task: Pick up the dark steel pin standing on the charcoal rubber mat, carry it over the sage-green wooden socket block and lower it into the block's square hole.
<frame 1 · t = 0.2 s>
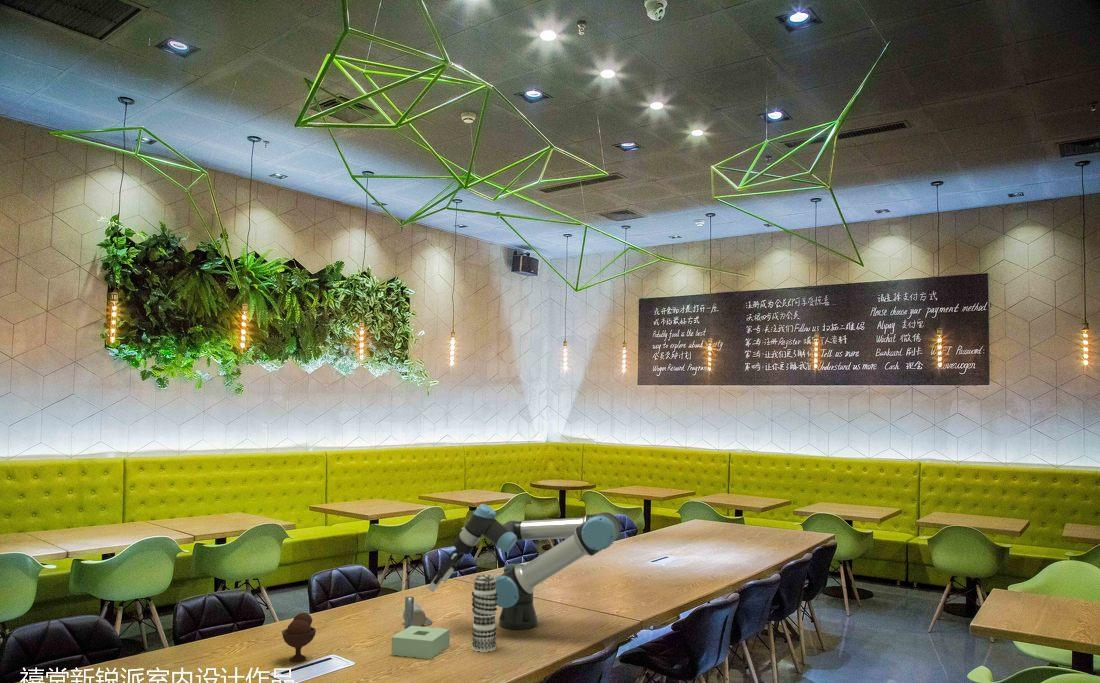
hand: (436, 585, 299), 16 cm above the table, tool tilted 35°, fingers open, 13 cm apart
decorative candle: (483, 649, 272), on the table
socket block: (420, 650, 269), on the table
ceramic mug: (417, 626, 301), on the table
mat: (408, 637, 284), on the table
ice cream bowl: (297, 660, 258), on the table
pin: (408, 636, 284), resting on mat
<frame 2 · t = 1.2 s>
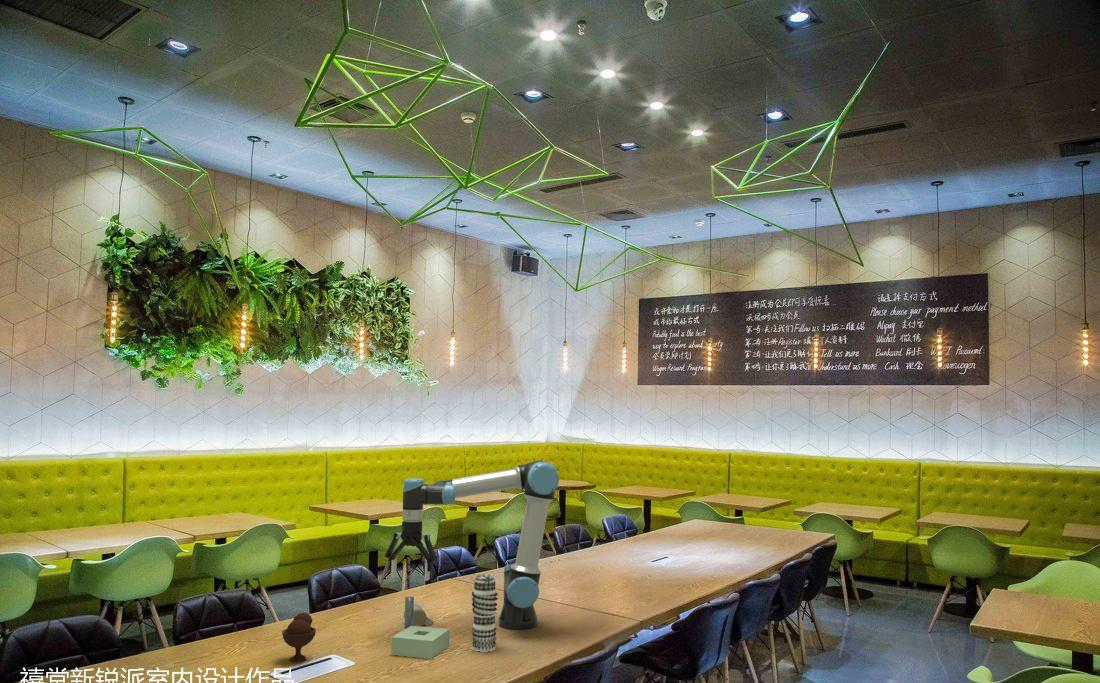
hand: (410, 578, 287), 21 cm above the table, tool pointing down, fingers open, 13 cm apart
nothing on the table moved.
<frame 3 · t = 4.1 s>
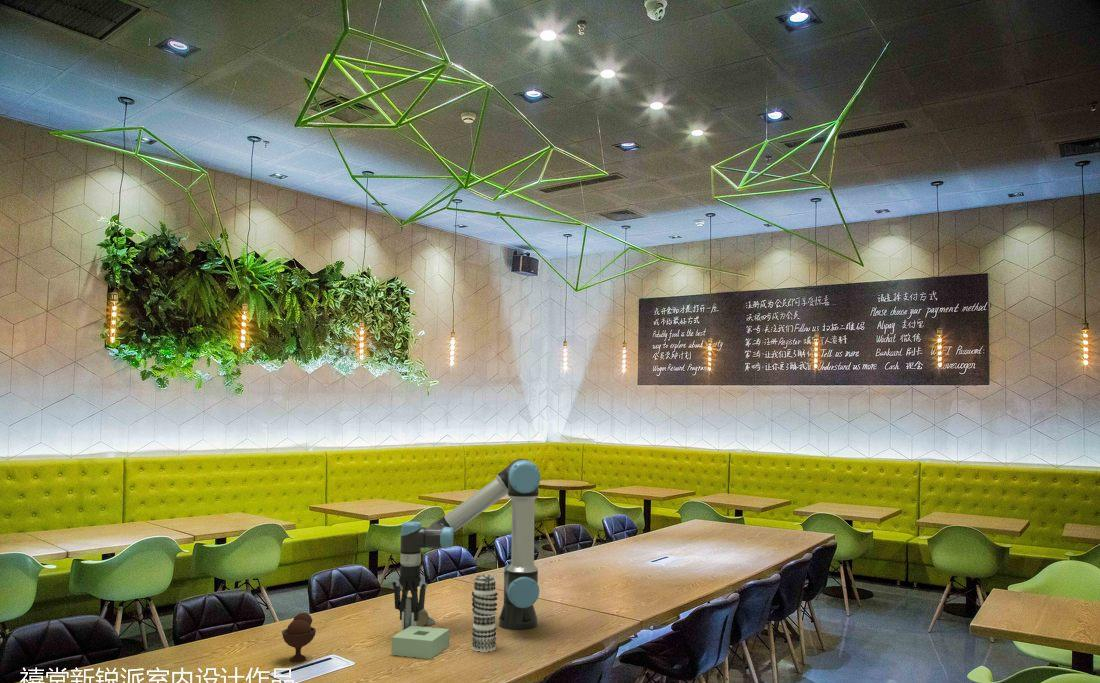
hand: (408, 629, 285), 3 cm above the table, tool pointing down, fingers closed on pin, 3 cm apart
pin: (408, 636, 285), resting on mat, touching gripper
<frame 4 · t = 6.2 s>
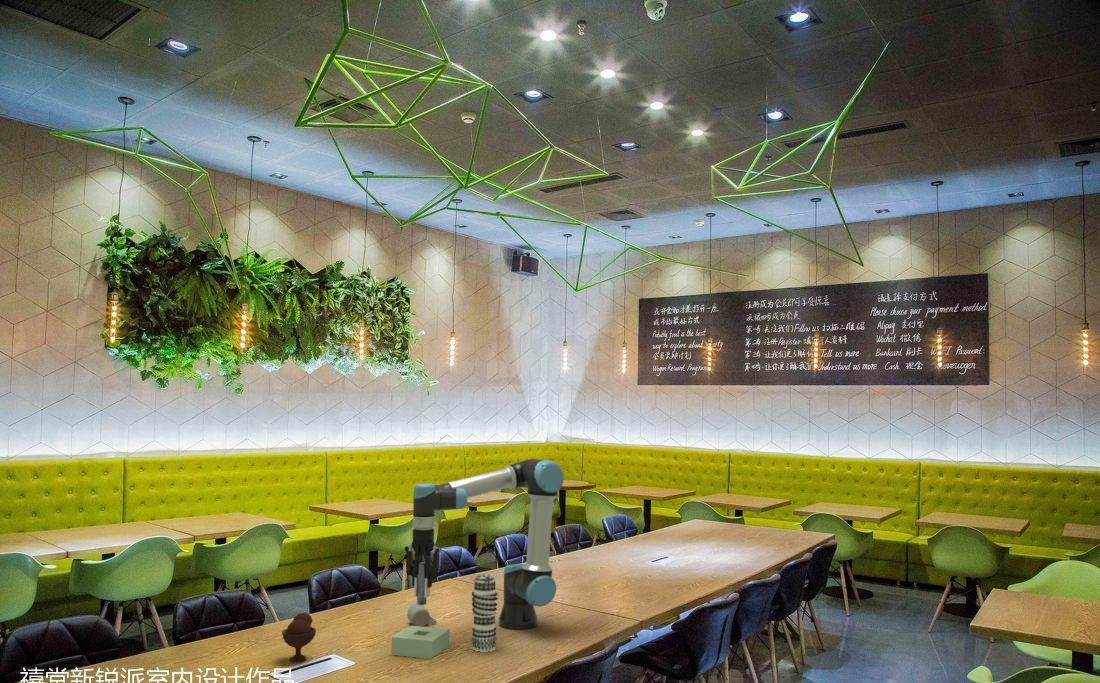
hand: (421, 596, 271), 19 cm above the table, tool pointing down, fingers closed on pin, 3 cm apart
pin: (421, 603, 271), point 16 cm above the table, touching gripper
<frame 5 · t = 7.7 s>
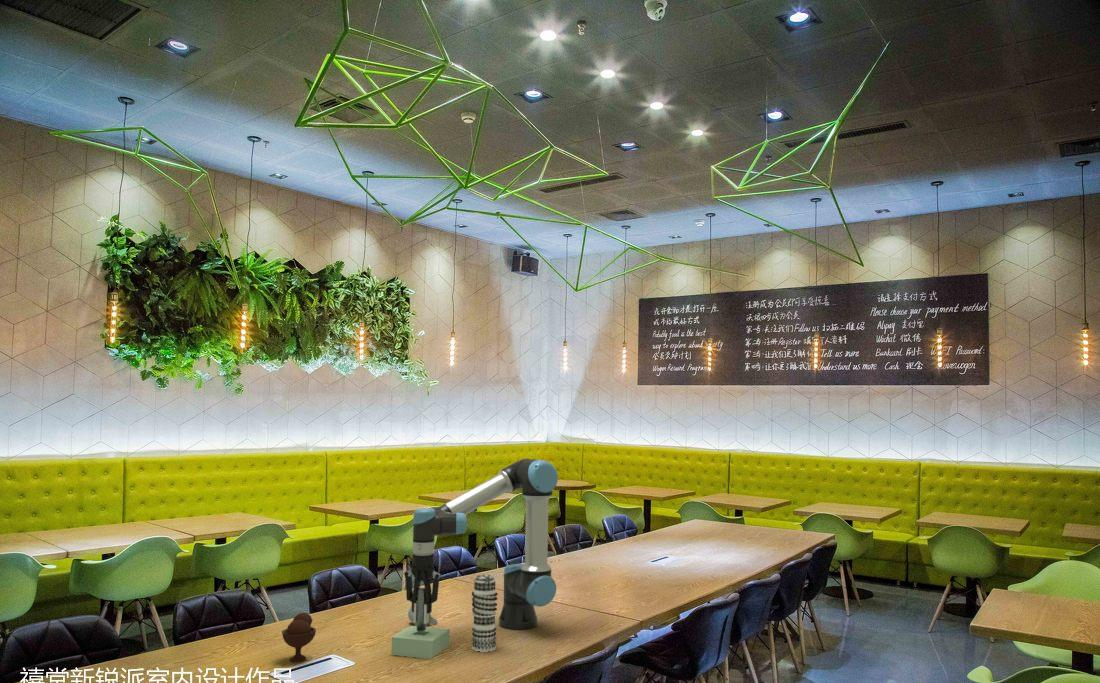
hand: (421, 622, 270), 10 cm above the table, tool pointing down, fingers closed on pin, 3 cm apart
pin: (421, 629, 270), point 7 cm above the table, touching gripper
when the fingers open (7 cm above the table, at t = 8.8 s): pin drops 4 cm, resting in socket block.
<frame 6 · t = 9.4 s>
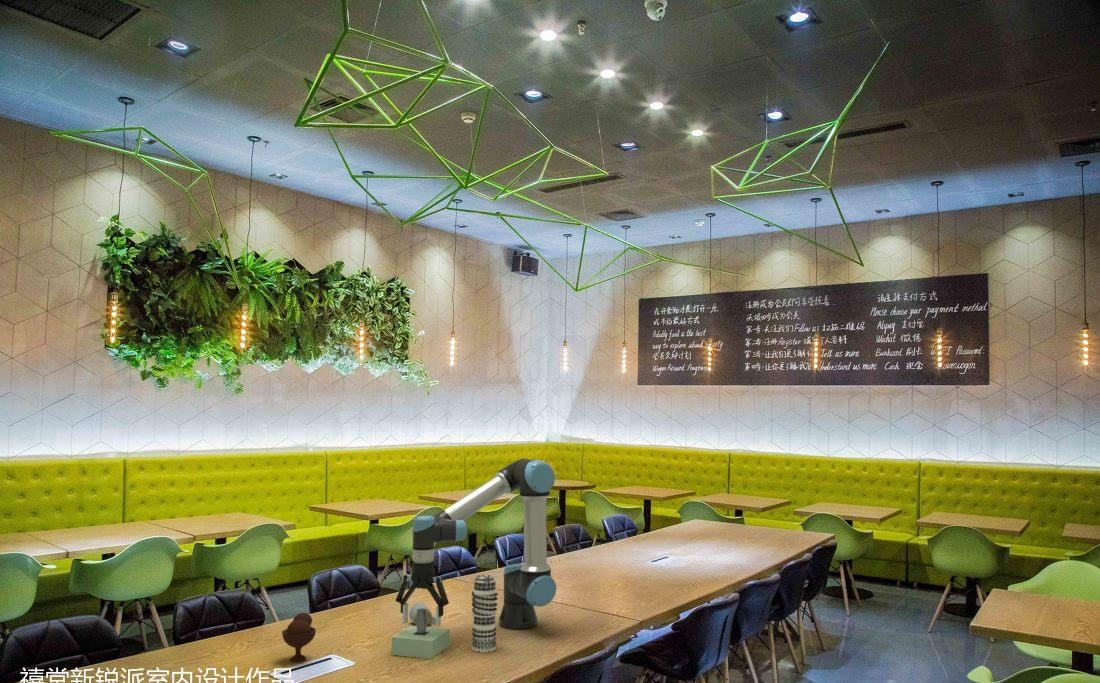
hand: (421, 624, 270), 9 cm above the table, tool pointing down, fingers open, 12 cm apart
pin: (421, 650, 269), resting in socket block
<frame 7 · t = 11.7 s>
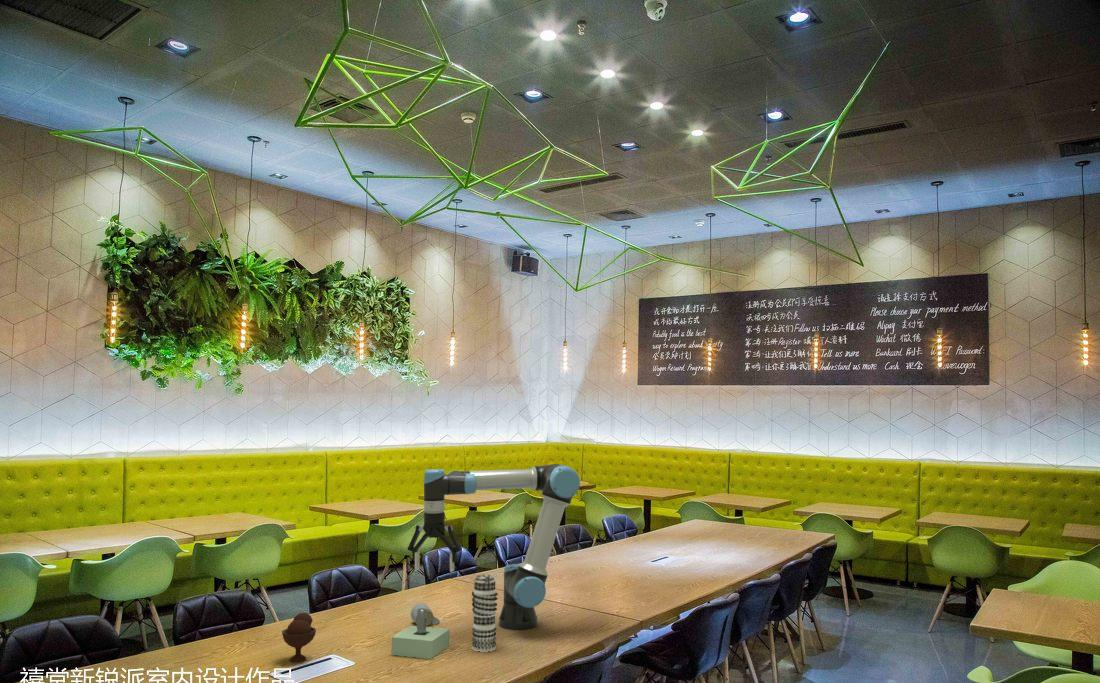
hand: (434, 570, 284), 25 cm above the table, tool pointing down, fingers open, 13 cm apart
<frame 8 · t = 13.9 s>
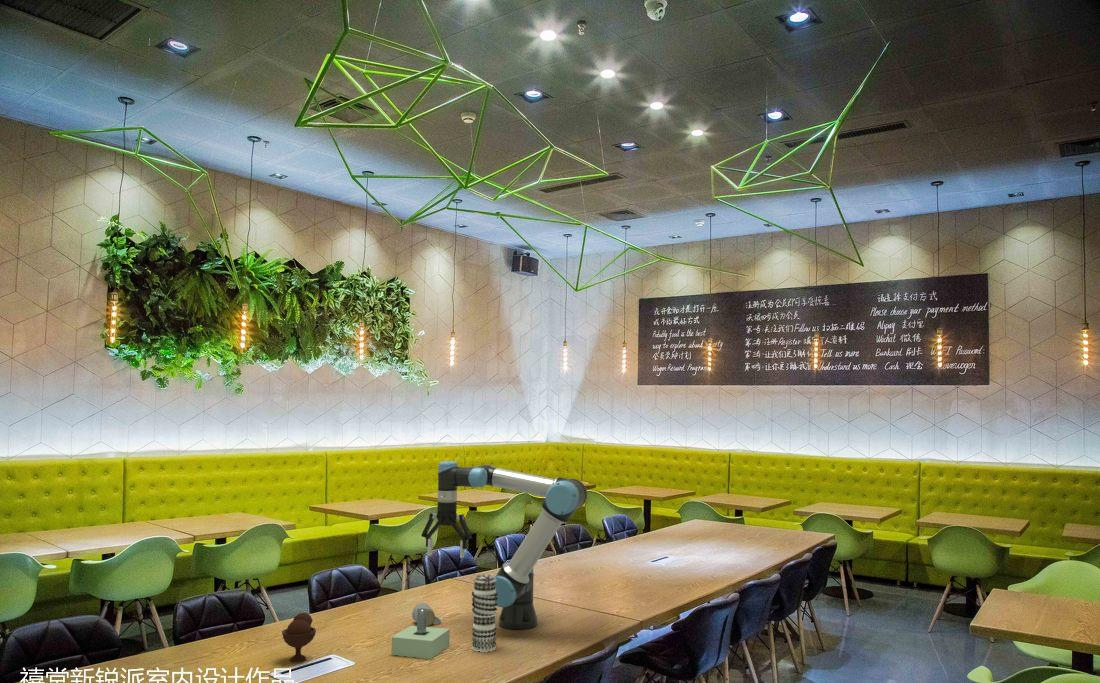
hand: (446, 556, 301), 27 cm above the table, tool pointing down, fingers open, 13 cm apart
at the end: pin 0.0 cm off-centre on the socket block, point 0.0 cm above the socket block's base; pin tilted 0°; the gripper is holding nothing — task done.
